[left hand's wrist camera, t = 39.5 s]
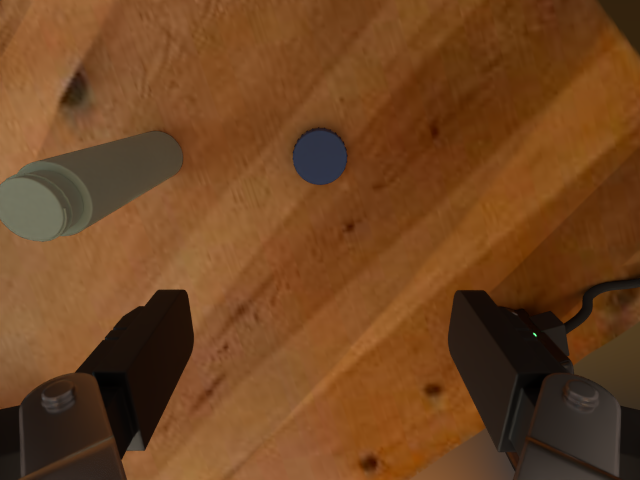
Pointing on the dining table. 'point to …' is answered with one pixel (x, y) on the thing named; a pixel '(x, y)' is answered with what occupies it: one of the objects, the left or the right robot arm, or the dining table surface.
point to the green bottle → (85, 185)
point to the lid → (320, 156)
